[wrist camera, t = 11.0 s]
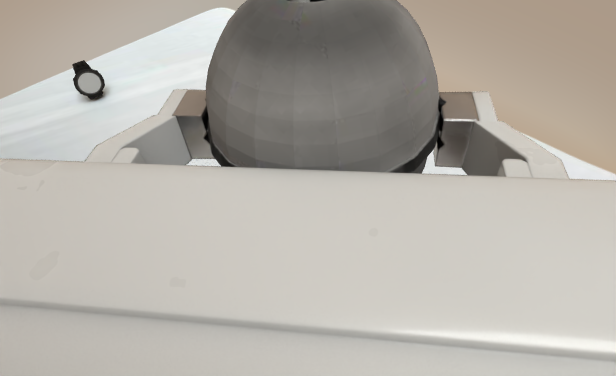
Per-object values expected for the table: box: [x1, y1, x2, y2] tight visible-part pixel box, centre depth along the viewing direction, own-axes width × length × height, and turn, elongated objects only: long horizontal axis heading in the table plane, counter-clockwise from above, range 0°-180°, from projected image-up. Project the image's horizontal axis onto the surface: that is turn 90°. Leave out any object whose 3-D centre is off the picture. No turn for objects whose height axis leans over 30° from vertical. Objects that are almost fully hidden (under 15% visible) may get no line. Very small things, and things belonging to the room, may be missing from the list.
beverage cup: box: [206, 0, 440, 174], centre depth 14 cm, size 7×7×20 cm
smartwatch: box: [73, 60, 105, 99], centre depth 57 cm, size 4×5×5 cm
